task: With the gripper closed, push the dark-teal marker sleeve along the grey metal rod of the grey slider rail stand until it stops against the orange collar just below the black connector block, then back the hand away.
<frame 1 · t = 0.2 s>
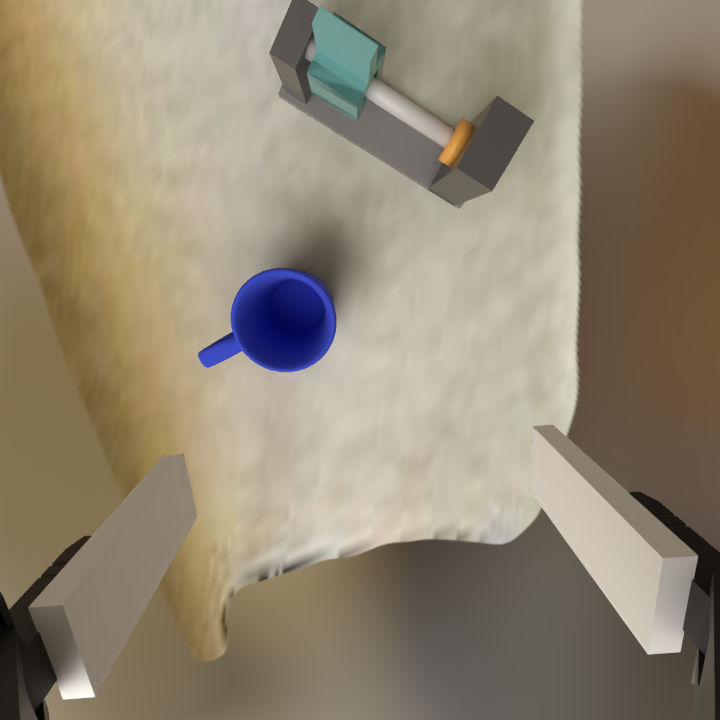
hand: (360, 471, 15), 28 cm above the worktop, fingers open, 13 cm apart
mug: (282, 312, 42), on the worktop
grey slider rail stand: (381, 125, 37), on the worktop
sleeve: (346, 61, 28), point 9 cm above the worktop, slide at 0.0 cm
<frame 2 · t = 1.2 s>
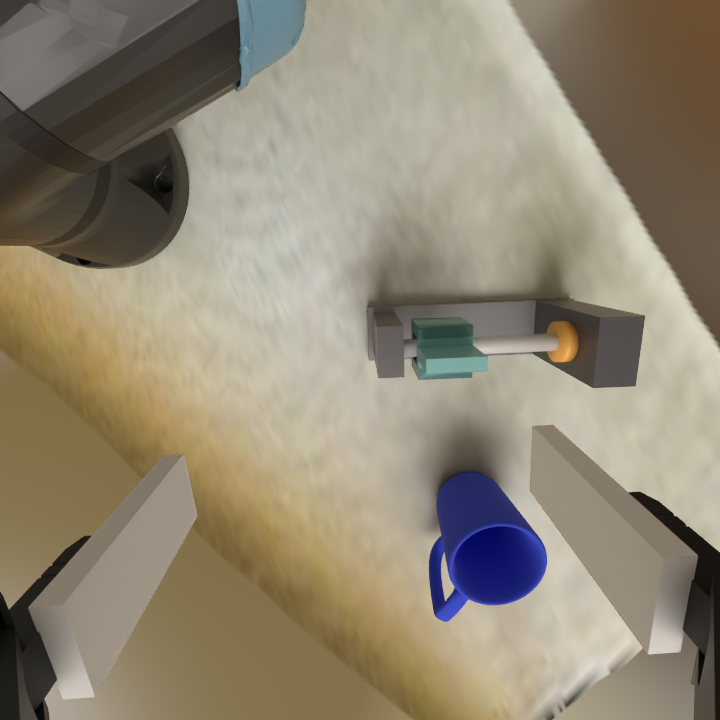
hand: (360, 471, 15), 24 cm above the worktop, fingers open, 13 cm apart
mug: (455, 508, 44), on the worktop
grey slider rail stand: (462, 329, 39), on the worktop
sleeve: (444, 351, 30), point 9 cm above the worktop, slide at 0.0 cm
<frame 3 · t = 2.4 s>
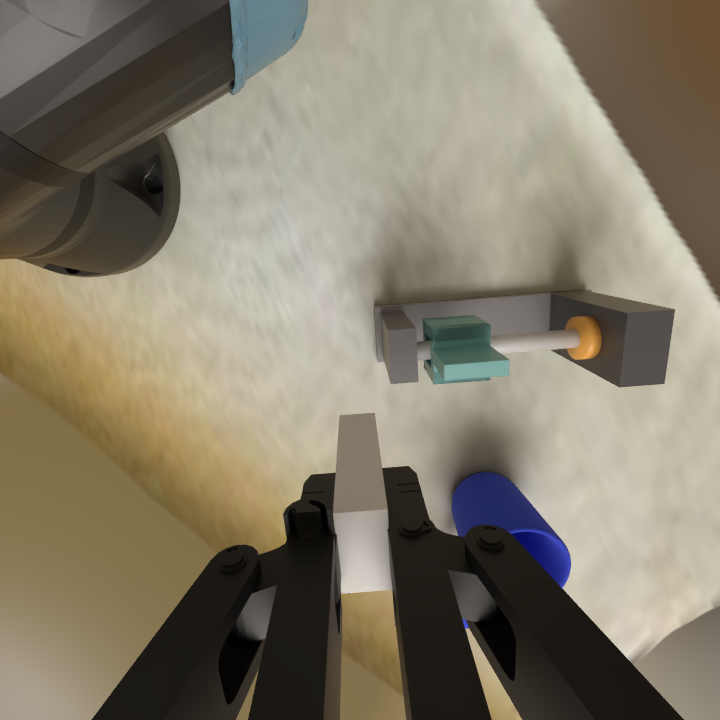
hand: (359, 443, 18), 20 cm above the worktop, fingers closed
mug: (470, 509, 43), on the worktop
grey slider rail stand: (474, 325, 37), on the worktop
sleeve: (460, 354, 29), point 9 cm above the worktop, slide at 0.0 cm
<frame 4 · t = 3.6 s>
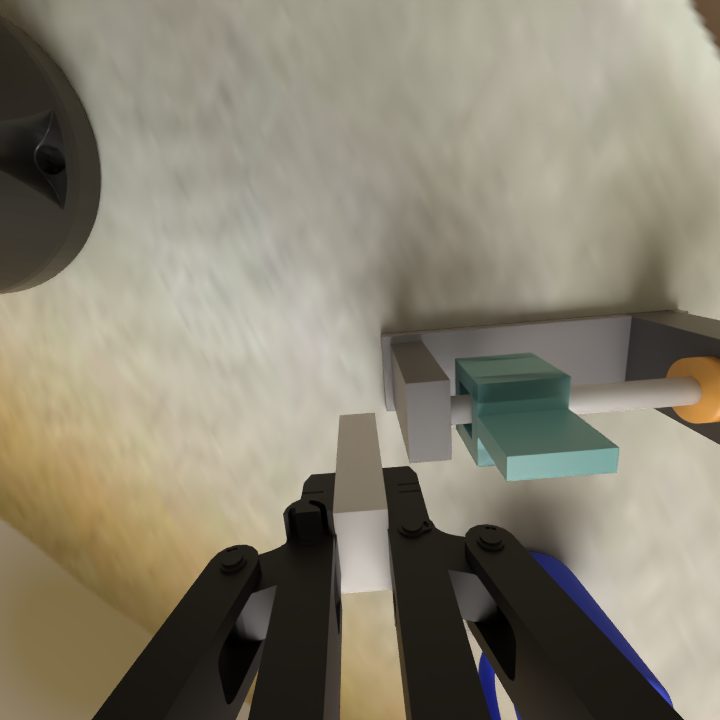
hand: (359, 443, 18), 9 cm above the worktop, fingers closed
mug: (508, 596, 32), on the worktop
grey slider rail stand: (520, 360, 27), on the worktop
sleeve: (520, 420, 18), point 9 cm above the worktop, slide at 0.0 cm
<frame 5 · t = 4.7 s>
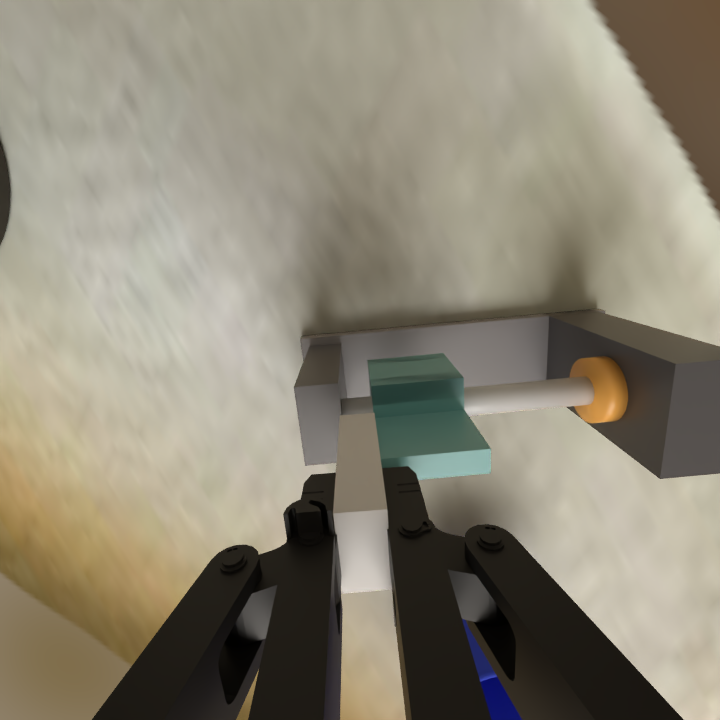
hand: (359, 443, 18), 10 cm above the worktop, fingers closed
mug: (447, 594, 32), on the worktop
grey slider rail stand: (443, 360, 27), on the worktop
sleeve: (418, 421, 18), point 9 cm above the worktop, slide at 0.5 cm, touching gripper
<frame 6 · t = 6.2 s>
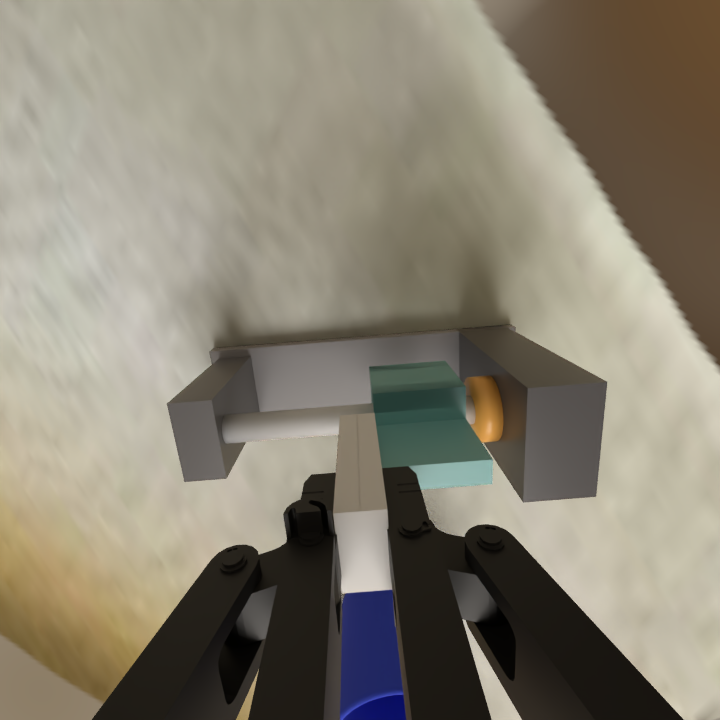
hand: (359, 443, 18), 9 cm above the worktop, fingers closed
mug: (373, 608, 32), on the worktop
grey slider rail stand: (357, 374, 27), on the worktop
sleeve: (419, 430, 18), point 9 cm above the worktop, slide at 6.2 cm, touching gripper
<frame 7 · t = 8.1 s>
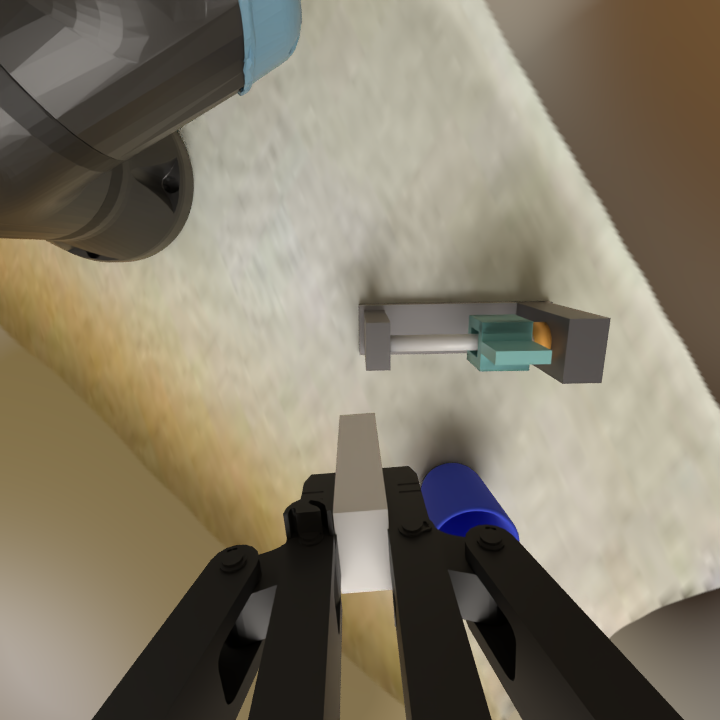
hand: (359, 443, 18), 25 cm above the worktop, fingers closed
mug: (438, 497, 46), on the worktop
grey slider rail stand: (447, 327, 41), on the worktop
sleeve: (505, 346, 33), point 9 cm above the worktop, slide at 6.2 cm
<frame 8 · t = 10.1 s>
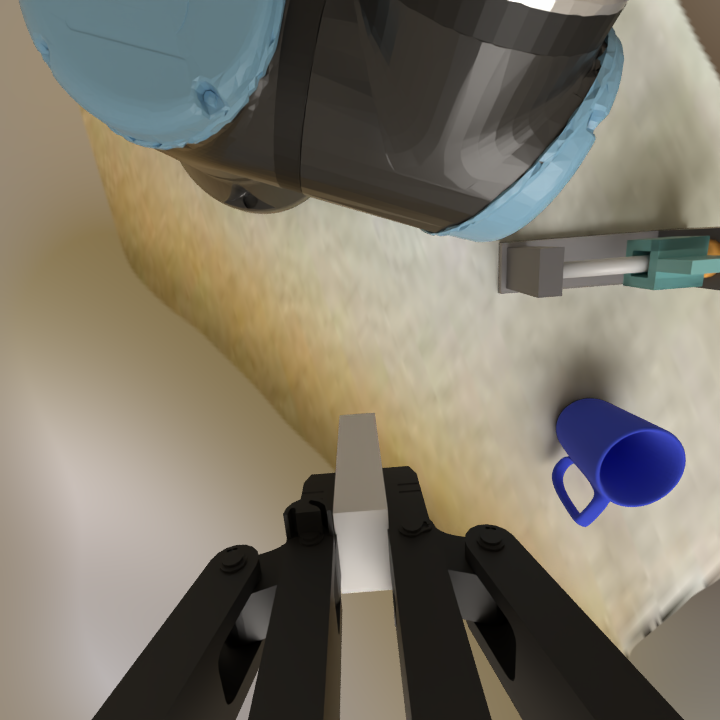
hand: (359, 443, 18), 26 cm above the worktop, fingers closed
mug: (570, 435, 47), on the worktop
grey slider rail stand: (586, 261, 42), on the worktop
sleeve: (679, 263, 33), point 9 cm above the worktop, slide at 6.2 cm
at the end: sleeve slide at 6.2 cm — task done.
